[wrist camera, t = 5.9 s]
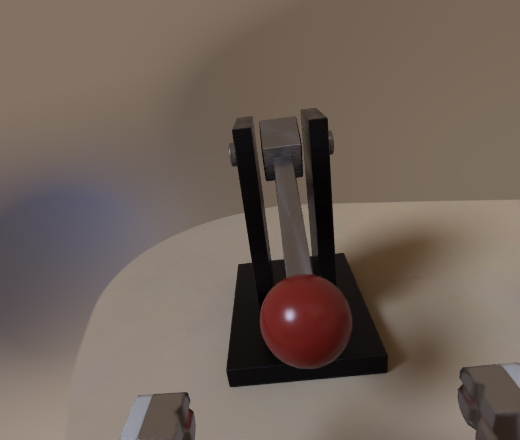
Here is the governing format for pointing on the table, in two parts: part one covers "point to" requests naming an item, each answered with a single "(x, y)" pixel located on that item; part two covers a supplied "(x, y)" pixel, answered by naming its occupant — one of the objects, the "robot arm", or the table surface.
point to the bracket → (271, 272)
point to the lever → (298, 267)
